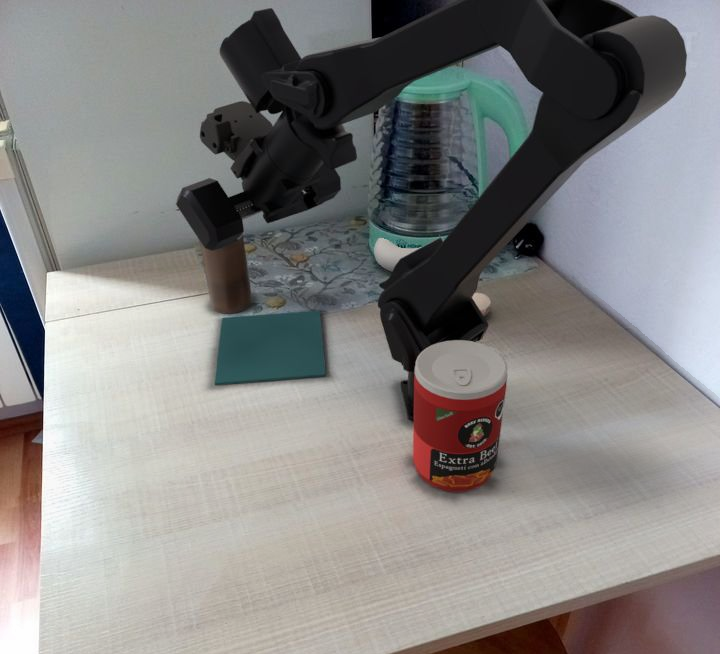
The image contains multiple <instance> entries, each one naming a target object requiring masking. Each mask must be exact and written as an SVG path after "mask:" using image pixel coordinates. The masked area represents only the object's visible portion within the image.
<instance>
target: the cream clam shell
mask: <svg viewBox="0 0 720 654" xmlns="http://www.w3.org/2000/svg"><path fill="white" fill-rule="evenodd" d="M472 298H473V300H474V302H475V303H476V305H477V306H478V308H479V309H480V311H481V313H482V314H483V316H484V317H485V316H486V315H487V314H488V313H489V312H490V310H491V306H490V305H491V302H492V301H491V299H490V298H489V296H488V295H486V294H485V293H480V292H475V293H474V295H473V297H472Z"/></svg>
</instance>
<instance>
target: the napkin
mask: <svg viewBox="0 0 720 654" xmlns="http://www.w3.org/2000/svg"><path fill="white" fill-rule="evenodd" d="M326 372H327V371H326V362H325V352H324V342H323V330H322V318H321V311H320V310H309V311H308V310H307V311H295V312H294V311H293V312H283V313H267V314H256V315H255V314H254V315H242V316H241V315H240V316H228V317H227V316H226V317H222V318H221V324H220V333H219V341H218V352H217V360H216V368H215V377H214V386H222V385H234V384H247V383H259V382H270V381H271V382H272V381H273V382H274V381H283V380H284V381H285V380H297V379H310V378H320V377H322V378H323V377H326V376H327V374H326Z"/></svg>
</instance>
